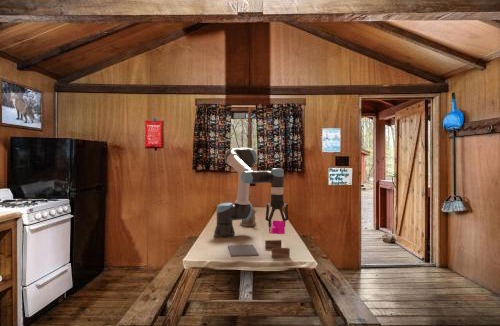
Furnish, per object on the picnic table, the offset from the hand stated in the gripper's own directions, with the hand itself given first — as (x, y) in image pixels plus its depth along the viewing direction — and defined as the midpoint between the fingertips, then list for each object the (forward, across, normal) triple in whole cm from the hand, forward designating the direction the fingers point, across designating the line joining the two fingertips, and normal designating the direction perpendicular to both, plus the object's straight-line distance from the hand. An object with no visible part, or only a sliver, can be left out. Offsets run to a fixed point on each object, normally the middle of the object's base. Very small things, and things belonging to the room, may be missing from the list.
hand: (276, 232), depth 197 cm
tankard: (+14, -4, +81) cm, 82 cm away
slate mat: (+12, -20, +6) cm, 24 cm away
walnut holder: (+12, 0, 0) cm, 12 cm away
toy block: (+1, 0, 0) cm, 1 cm away
